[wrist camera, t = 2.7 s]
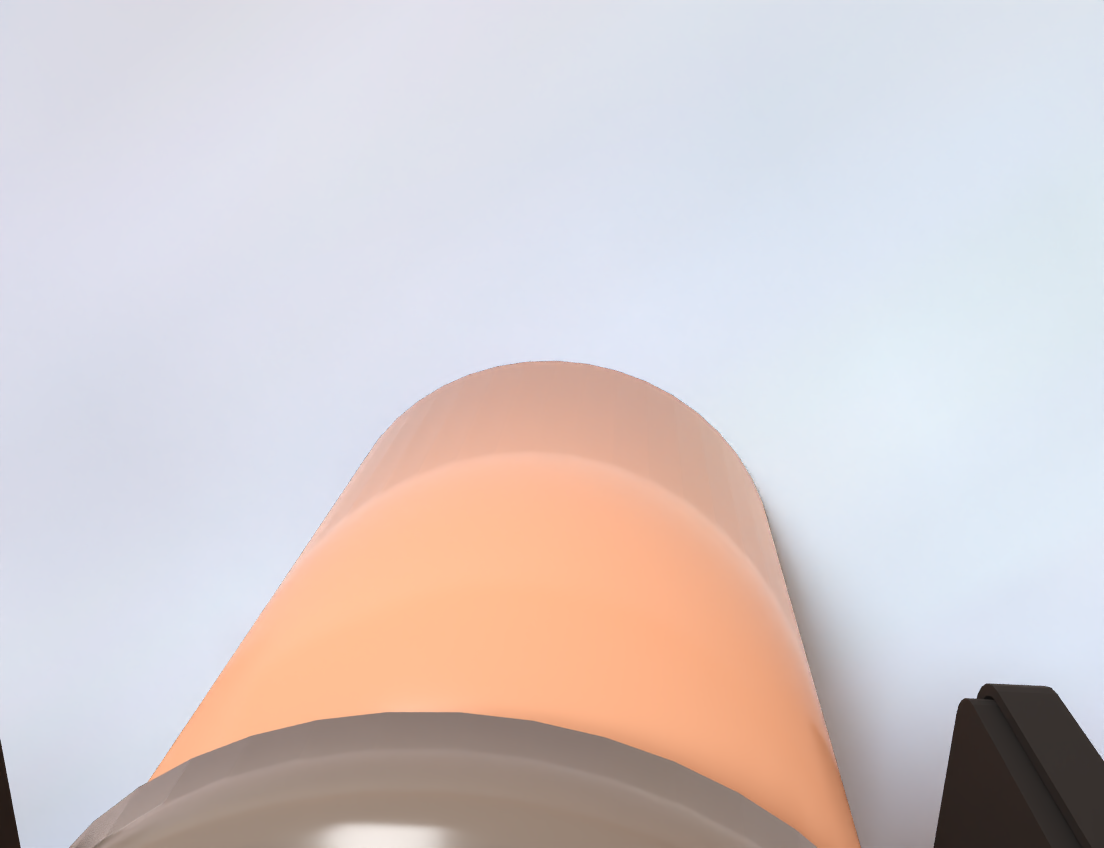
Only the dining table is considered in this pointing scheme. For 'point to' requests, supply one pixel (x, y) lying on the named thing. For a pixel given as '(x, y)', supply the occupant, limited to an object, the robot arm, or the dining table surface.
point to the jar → (516, 648)
